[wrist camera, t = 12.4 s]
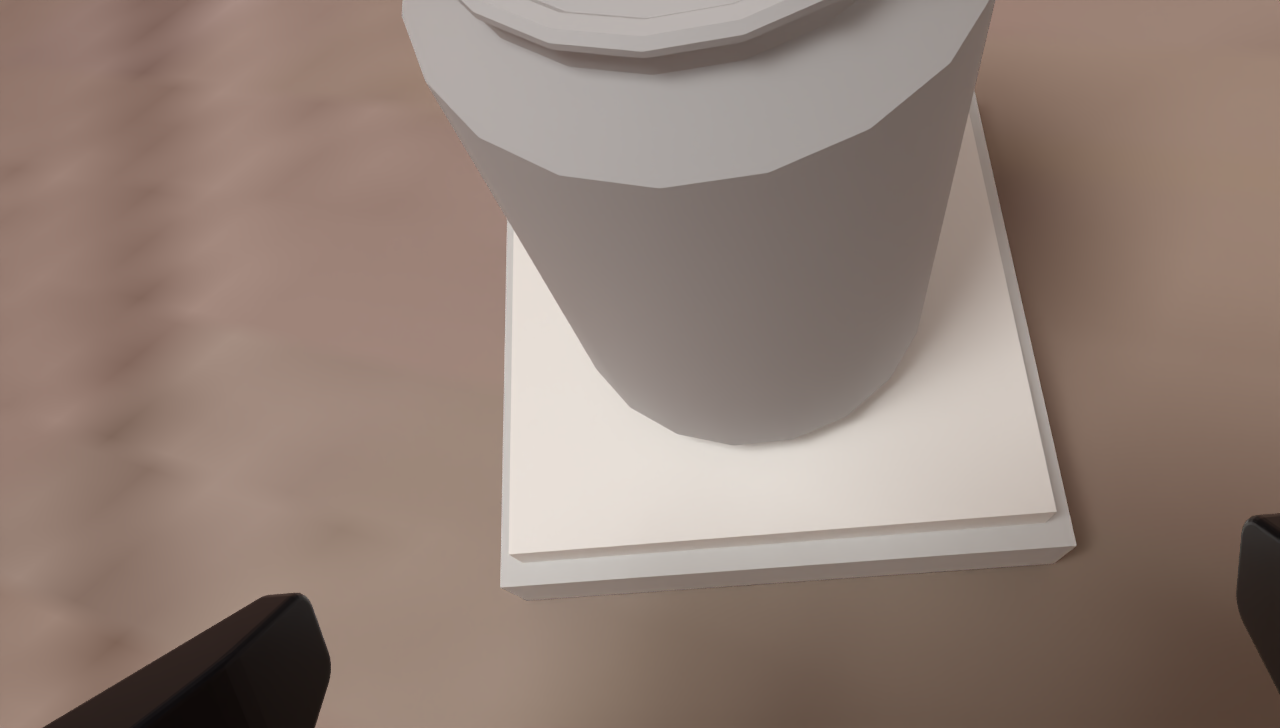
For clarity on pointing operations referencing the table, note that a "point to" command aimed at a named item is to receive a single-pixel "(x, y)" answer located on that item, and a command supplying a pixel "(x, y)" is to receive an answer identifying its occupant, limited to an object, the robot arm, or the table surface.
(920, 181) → the can
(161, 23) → the table surface
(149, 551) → the table surface
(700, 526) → the stand
